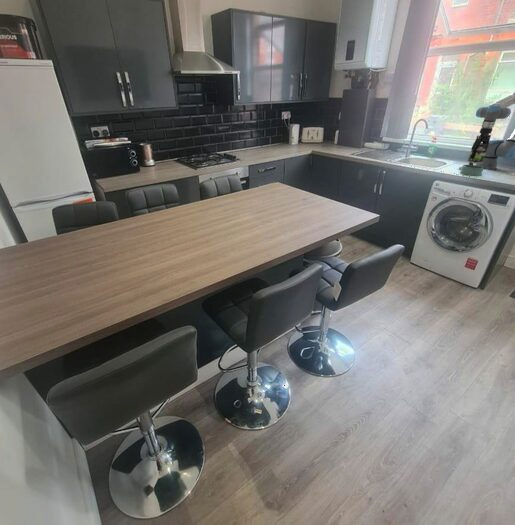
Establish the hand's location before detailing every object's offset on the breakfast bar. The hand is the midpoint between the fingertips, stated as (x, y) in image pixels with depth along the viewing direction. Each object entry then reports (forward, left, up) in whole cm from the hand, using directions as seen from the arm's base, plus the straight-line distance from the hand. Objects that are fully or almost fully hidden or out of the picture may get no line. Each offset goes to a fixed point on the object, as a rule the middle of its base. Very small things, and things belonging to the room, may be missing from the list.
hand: (476, 158), depth 235 cm
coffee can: (0, 0, -3) cm, 3 cm away
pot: (0, 0, -13) cm, 13 cm away
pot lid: (-15, -8, -12) cm, 21 cm away
